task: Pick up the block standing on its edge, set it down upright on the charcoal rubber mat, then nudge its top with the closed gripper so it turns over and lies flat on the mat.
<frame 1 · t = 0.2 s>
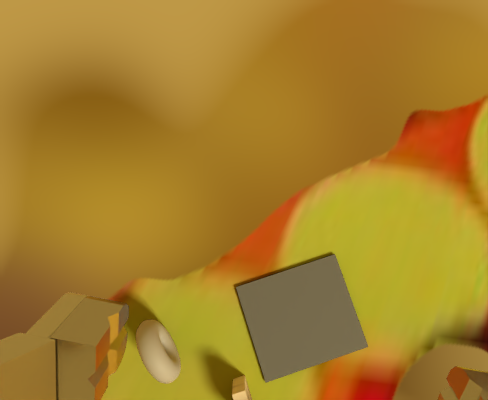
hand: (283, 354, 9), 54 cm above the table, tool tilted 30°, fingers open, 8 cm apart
donut: (165, 342, 60), on the table
mat: (300, 316, 61), on the table
block: (244, 395, 59), on the table
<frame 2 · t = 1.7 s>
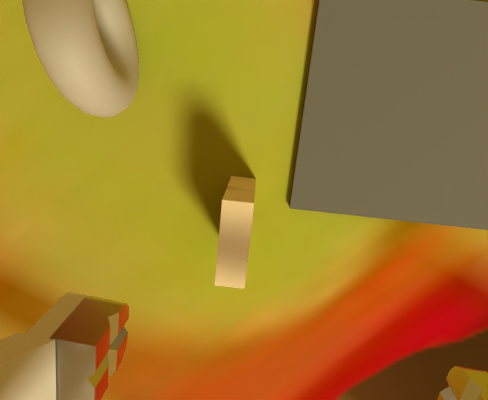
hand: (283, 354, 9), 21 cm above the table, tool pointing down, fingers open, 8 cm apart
donut: (122, 45, 27), on the table
mat: (422, 118, 27), on the table
block: (239, 212, 30), on the table
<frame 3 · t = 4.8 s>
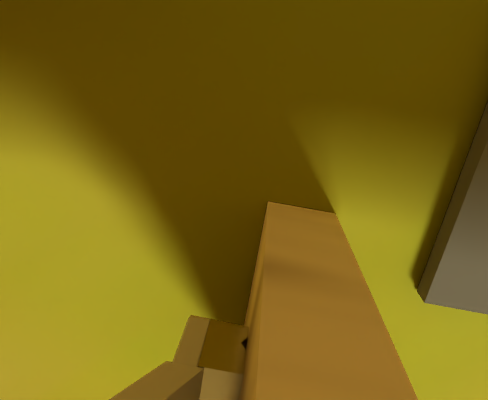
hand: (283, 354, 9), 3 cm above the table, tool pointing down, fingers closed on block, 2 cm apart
block: (281, 293, 11), on the table, touching gripper
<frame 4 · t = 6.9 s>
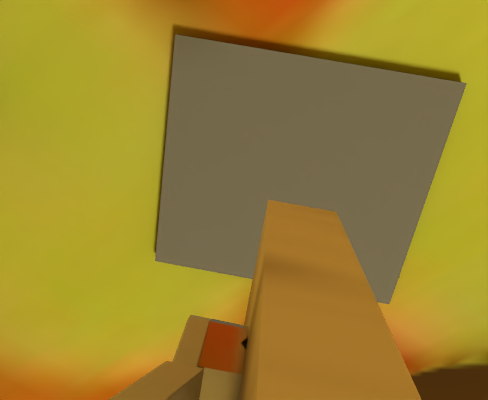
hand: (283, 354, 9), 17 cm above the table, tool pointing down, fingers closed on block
mat: (292, 180, 25), on the table
block: (282, 292, 11), point 14 cm above the table, touching gripper
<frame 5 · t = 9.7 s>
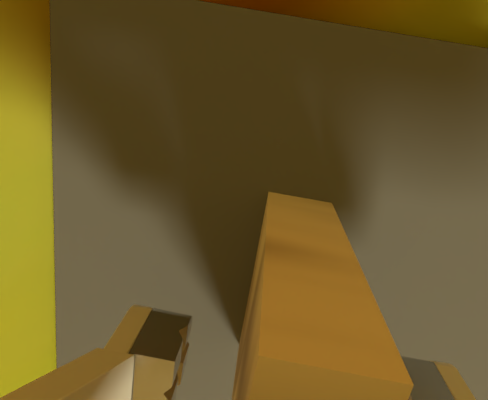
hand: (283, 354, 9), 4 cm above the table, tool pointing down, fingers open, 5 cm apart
mat: (309, 277, 13), on the table
block: (281, 279, 12), point 1 cm above the table, touching mat
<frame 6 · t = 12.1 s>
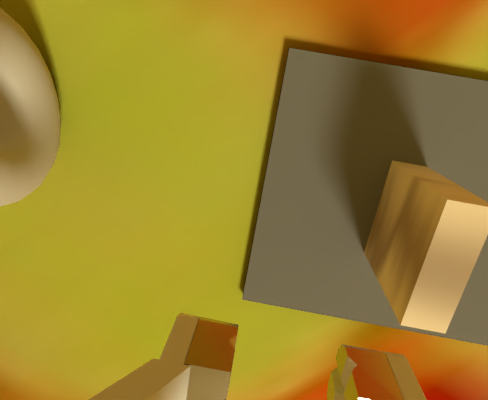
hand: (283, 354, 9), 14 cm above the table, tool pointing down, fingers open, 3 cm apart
donut: (46, 98, 22), on the table
mat: (407, 211, 22), on the table
block: (393, 211, 21), point 1 cm above the table, touching mat
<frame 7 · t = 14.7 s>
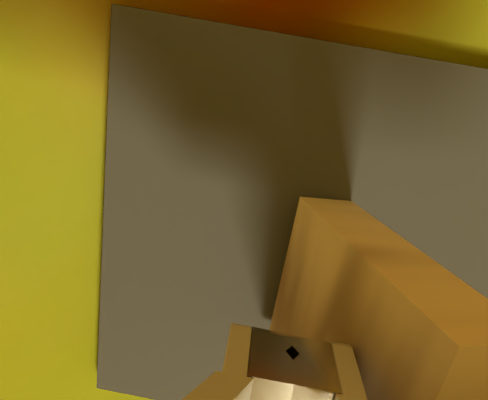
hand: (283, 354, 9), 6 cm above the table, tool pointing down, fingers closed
mat: (329, 267, 14), on the table
block: (307, 273, 13), point 1 cm above the table, tilted 18°, touching mat
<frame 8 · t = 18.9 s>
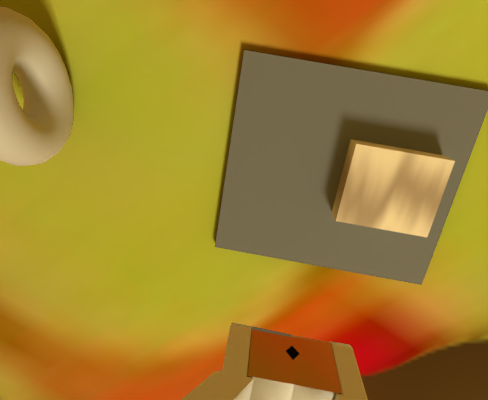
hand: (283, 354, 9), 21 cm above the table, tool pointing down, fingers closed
donut: (62, 88, 29), on the table
mat: (339, 175, 29), on the table
block: (343, 180, 27), point 2 cm above the table, tilted 90°, touching mat
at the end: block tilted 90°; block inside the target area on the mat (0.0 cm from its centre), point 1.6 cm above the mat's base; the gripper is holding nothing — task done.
